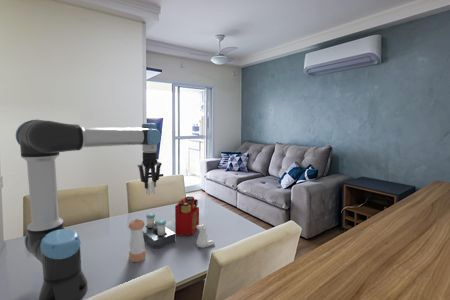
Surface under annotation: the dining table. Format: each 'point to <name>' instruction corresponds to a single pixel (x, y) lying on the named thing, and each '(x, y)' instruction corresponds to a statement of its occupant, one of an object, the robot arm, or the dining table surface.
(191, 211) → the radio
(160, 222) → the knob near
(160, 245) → the mount
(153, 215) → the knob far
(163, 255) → the dining table surface
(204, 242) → the sitting furry creature
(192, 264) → the dining table surface
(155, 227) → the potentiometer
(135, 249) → the salt shaker
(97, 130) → the robot arm
